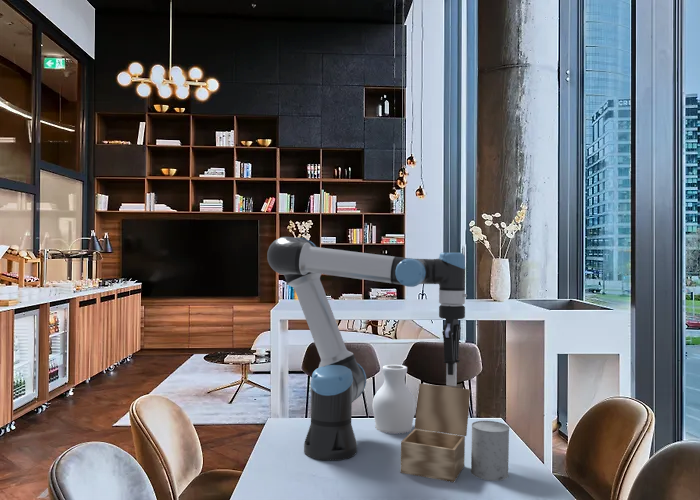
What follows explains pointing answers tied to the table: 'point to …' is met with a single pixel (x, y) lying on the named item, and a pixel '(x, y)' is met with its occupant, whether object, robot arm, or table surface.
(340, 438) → the robot arm
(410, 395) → the vase
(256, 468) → the table surface
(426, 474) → the box
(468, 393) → the lid
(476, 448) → the grey cylinder
